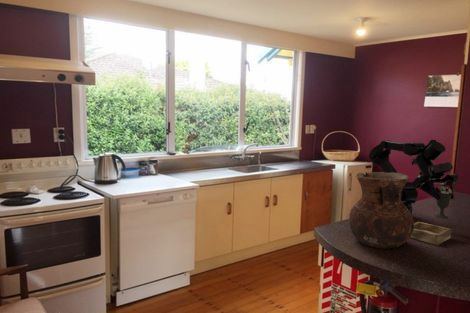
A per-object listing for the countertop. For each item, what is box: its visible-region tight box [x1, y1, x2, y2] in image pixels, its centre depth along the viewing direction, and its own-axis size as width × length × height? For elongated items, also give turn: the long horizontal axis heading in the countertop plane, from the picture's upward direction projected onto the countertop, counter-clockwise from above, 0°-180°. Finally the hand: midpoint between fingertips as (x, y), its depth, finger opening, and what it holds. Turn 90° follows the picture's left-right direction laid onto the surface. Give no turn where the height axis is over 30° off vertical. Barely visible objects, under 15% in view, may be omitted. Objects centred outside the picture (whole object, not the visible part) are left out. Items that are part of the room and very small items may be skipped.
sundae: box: [434, 180, 454, 220], centre depth 145 cm, size 7×7×15 cm
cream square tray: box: [409, 221, 452, 246], centre depth 138 cm, size 12×12×4 cm
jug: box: [348, 171, 414, 249], centre depth 130 cm, size 22×21×25 cm
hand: (445, 199), depth 143 cm, fingers closed on sundae, 6 cm apart
